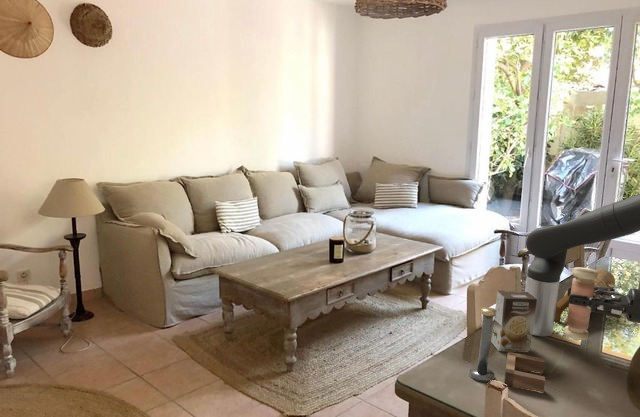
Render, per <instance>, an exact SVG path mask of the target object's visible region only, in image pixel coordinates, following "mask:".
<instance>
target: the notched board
mask: <svg viewBox="0 0 640 417" xmlns="http://www.w3.org/2000/svg"><path fill="white" fill-rule="evenodd" d="M505 364H506V365H505V374H504V381H503V384H504V383H505V384H507V385H508V386H507V387H510V388H515V387H517V388H516V389H519V388H523V389H522V390H524V389H529V390H536V391H540V392H543V393H544V391H545V384H546V377H545V376H544V375H543V376H542V375H540V374H535V373H531V372H528V371H534V372H540V373H543V374H544V367H545V358H542V357H538V356H537V357H536V356H533V355H528V354H527V355H526V354H521V353H518V352H517V353H516V352H508V351H507V358H506V363H505ZM518 369H520V370H518ZM523 370H526V371H523Z"/></svg>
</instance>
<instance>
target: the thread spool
mask: <svg viewBox="0 0 640 417" xmlns="http://www.w3.org/2000/svg"><path fill="white" fill-rule="evenodd" d="M595 270H596V269H592V268H588V267H576V266H575V267H573V268H572V272H571V275H572V276H574V278H572V283H571V287H572V288H571V294H576V295H582V296H587V297H593V292H594V286H595V282H594V281H593V280H594V279H597V276H598V272H597V271H595ZM567 309H568V310H567V318H566V326H564V328H563V335H564V336H566V337H567V338H570V339H572V340H578V341H586V340H588V339H589V331H588V328H589V324H590V316H591V313H592V312H591V309H589V308H587V306H581V305H574V304H570V303H569V308H567ZM590 312H591V313H590Z"/></svg>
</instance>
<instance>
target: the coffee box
mask: <svg viewBox="0 0 640 417" xmlns="http://www.w3.org/2000/svg"><path fill="white" fill-rule="evenodd" d="M536 303H537V299H536V298H535V297H534V296H533V295H531V294H529V293H528V292H525V291H520V290H518V291H517V290H515V291H514V290H512V291H511V290H497V292H496V301H495V308H494V309H495V310H496V316H494V317H493V324H492V333H491V342H490V343H492V345H493V346H494V348H496V350H497V351H498V352H507V353H508V352H512V353H516V351H521V352H520V353H526V352H525V351H530V352H531V346H532V345H531V344H532V339H533V338H532V337H533V335H532V332H533V324H534V317H535V310H536Z"/></svg>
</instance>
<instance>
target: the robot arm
mask: <svg viewBox="0 0 640 417" xmlns="http://www.w3.org/2000/svg"><path fill="white" fill-rule="evenodd" d="M639 231H640V194H636V195H634V196H631V197H628V198H625V199H623V200H622V199H621V200H618V201H616V202H611V203H609V204H606V205H603V206H600V207H598V208H595V209H593V210H590V211H589V212H586V213H584V214H581V215H579V216H577V217H575V218H573V219H571V220H569V221H566V222H562V223H559V224H554V225H553V224H550V225H545V226H542V227H538V228H535V229H534V230H532V231H531V232H530V233H529V234H528V236H527V238H526V240H525V247H526V250H527V251H528V252H529V254H531V255H532V256H533V257H534V258H533V260H532V262H531V263H530V264H529V266H528V268H527V272H526V280H525V290H524V292H528V293H529V294H531V295H533V296H534V297H535V298H536V299H537V303H536V310H535V317H534V324H533V332H532V336H537V337H550V336H552V335H553V332H554V326H555V321H554V319H555V312H556V304H557V302H558V298H559V297H558V296H559V288H560V282H561V277H562V276H561V275H562V274H563V272H564V269H565V264H566V259H567V255H568V254H567V253H568V250H570V249H572V248H576V247H580V246H584V245H585V246H587V245H590V244H596V243H601V242H606V241H610V240H611V241H612V240H615V239H618V238H623V237H625V236H626V237H627V236H629V235H633V234H635V233H637V232H639ZM571 288H572V286H569V287H567V291H568V293H567V294H568V296H569V303H570V304H574V305H581V306H587V308H589V309H591V311H592V312H591V313H597V314H600V315H604V316H609V317H612V318H616V319H621V318H622V315H623V314H625V319H626V320H627V321H628V322H630V323H637V324H640V289H639V288H632V287H631V288H630V289H629V290H628V293H627V294H623V293H620V292H618V291H615V290H616V289H615V288H604V287H594V292H593V293H595V294H596V295H594V294H593V297H587V296H582V295H576V294H571Z"/></svg>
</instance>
